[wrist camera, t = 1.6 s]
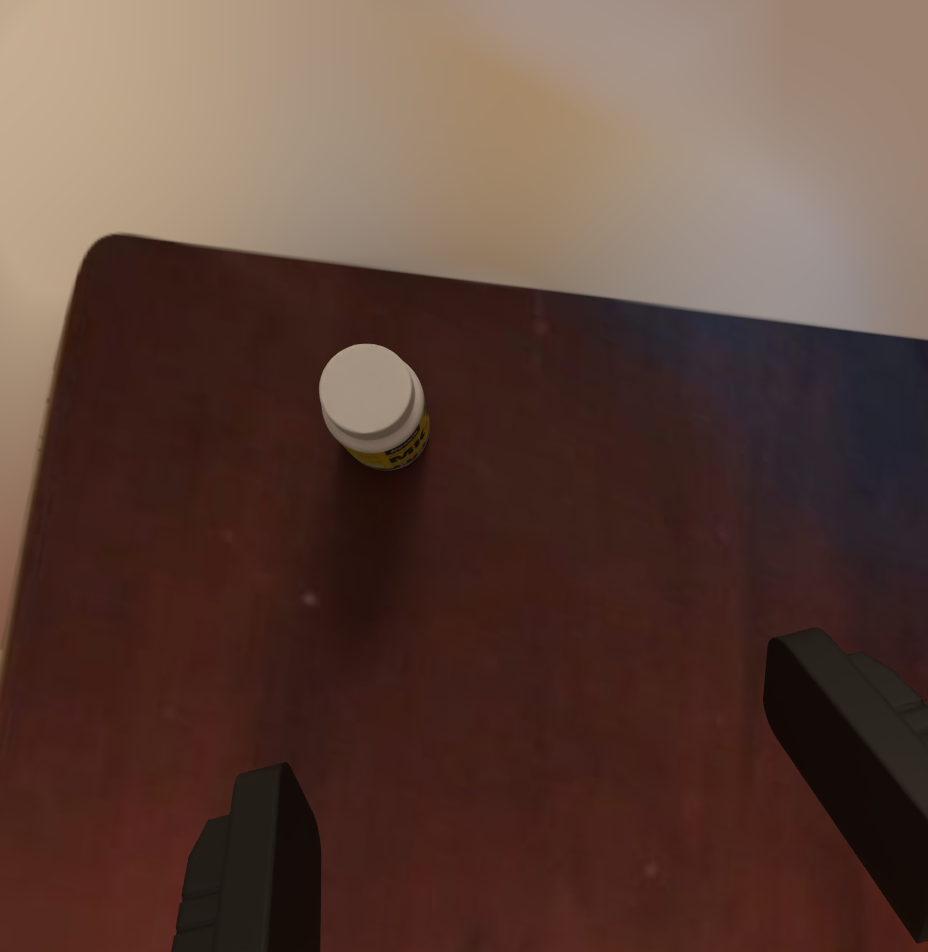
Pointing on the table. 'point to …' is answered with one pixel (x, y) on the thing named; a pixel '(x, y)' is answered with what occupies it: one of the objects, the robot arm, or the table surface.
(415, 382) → the supplement bottle
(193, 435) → the table surface
